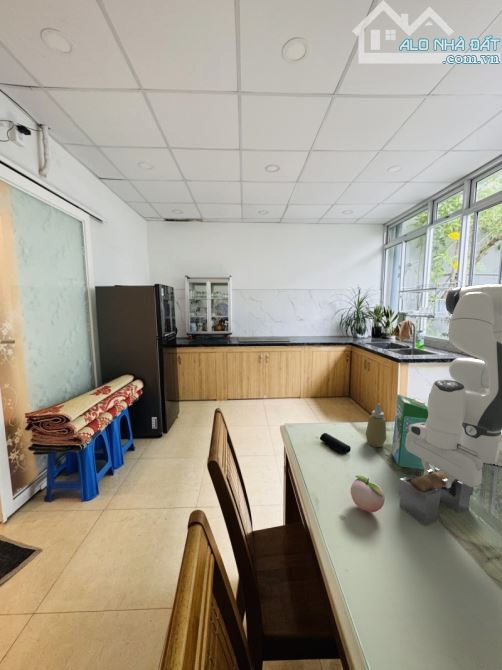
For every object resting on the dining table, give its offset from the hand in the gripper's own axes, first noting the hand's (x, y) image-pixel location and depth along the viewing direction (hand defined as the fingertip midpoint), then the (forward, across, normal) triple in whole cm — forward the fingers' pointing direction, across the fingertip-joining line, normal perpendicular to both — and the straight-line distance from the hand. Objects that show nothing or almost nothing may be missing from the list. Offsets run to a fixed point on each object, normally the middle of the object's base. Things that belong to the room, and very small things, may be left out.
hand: (437, 480), depth 81 cm
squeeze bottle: (+9, +34, -12) cm, 37 cm away
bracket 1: (+9, 0, +7) cm, 11 cm away
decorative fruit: (+9, +6, +21) cm, 23 cm away
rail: (+1, -2, 0) cm, 2 cm away
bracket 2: (+8, 0, -7) cm, 11 cm away
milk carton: (+9, +20, -14) cm, 26 cm away
